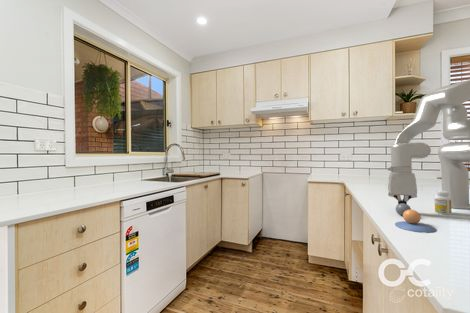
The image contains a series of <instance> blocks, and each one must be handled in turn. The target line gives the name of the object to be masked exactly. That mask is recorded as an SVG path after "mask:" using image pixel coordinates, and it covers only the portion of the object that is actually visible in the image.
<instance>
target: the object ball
mask: <svg viewBox="0 0 470 313" xmlns="http://www.w3.org/2000/svg"><path fill="white" fill-rule="evenodd" d="M402 218H403V221H406V222H408V223H410V224H416V223H420V222H421V219H422V217H421V214H420V212H418V211H417V210H414V209H411V210H406V211H405V212H404V213H403V216H402Z"/></svg>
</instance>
